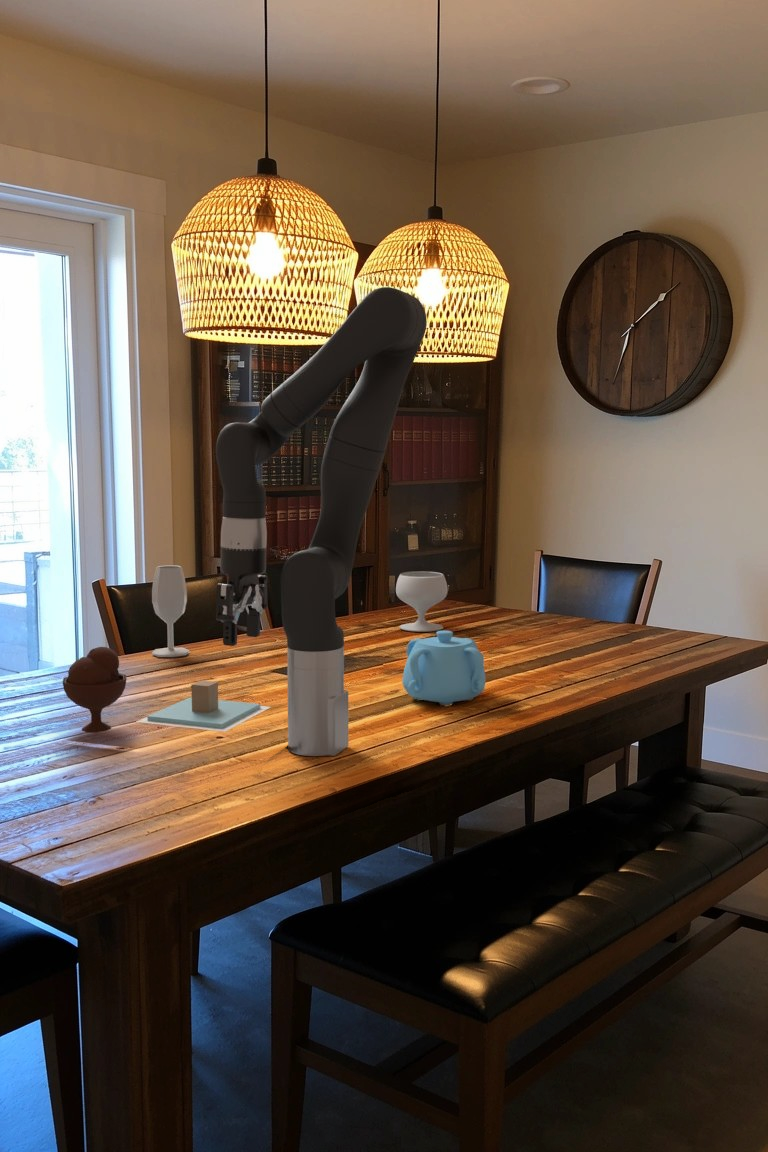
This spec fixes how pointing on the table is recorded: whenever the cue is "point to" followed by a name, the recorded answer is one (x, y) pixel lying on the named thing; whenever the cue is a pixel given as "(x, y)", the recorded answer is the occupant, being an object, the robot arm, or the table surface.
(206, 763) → the table surface
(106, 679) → the ice cream bowl
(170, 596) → the wineglass
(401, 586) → the chalice
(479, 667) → the decorative pot
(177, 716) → the cover sheet
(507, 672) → the table surface
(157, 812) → the table surface
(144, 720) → the mat
